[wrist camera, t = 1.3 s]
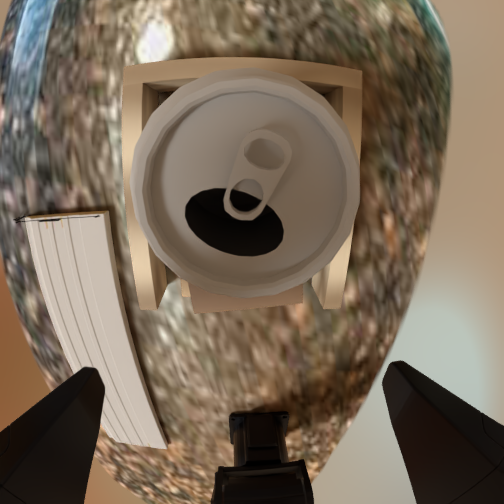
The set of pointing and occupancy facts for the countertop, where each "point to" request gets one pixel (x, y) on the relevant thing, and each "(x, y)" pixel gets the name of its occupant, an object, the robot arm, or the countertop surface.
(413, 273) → the countertop surface
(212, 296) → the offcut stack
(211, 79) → the can
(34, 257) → the baseboard
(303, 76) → the rack
